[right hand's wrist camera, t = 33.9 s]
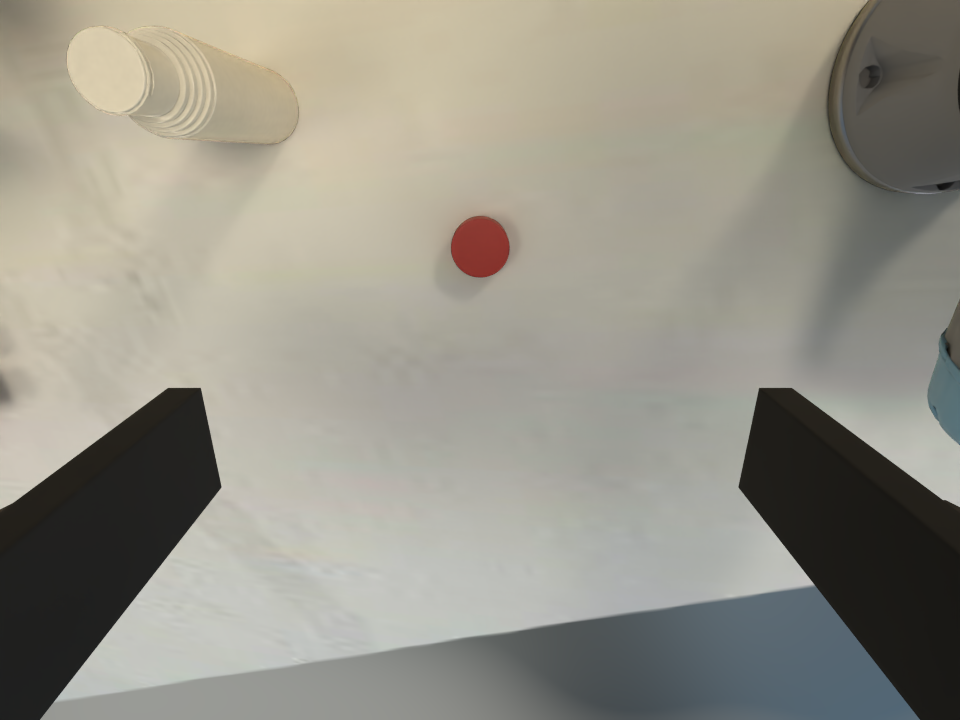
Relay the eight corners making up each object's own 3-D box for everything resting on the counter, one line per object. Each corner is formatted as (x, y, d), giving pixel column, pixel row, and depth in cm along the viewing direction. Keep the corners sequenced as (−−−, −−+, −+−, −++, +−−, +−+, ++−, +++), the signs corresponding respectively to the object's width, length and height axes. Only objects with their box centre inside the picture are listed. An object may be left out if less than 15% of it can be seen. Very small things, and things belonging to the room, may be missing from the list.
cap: (512, 266, 41) (514, 271, 39) (459, 277, 41) (458, 282, 40) (502, 210, 40) (503, 213, 38) (446, 222, 40) (445, 225, 38)
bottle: (276, 159, 38) (134, 160, 23) (216, 112, 37) (23, 80, 22) (312, 101, 37) (188, 60, 21) (251, 51, 36) (73, -31, 20)
